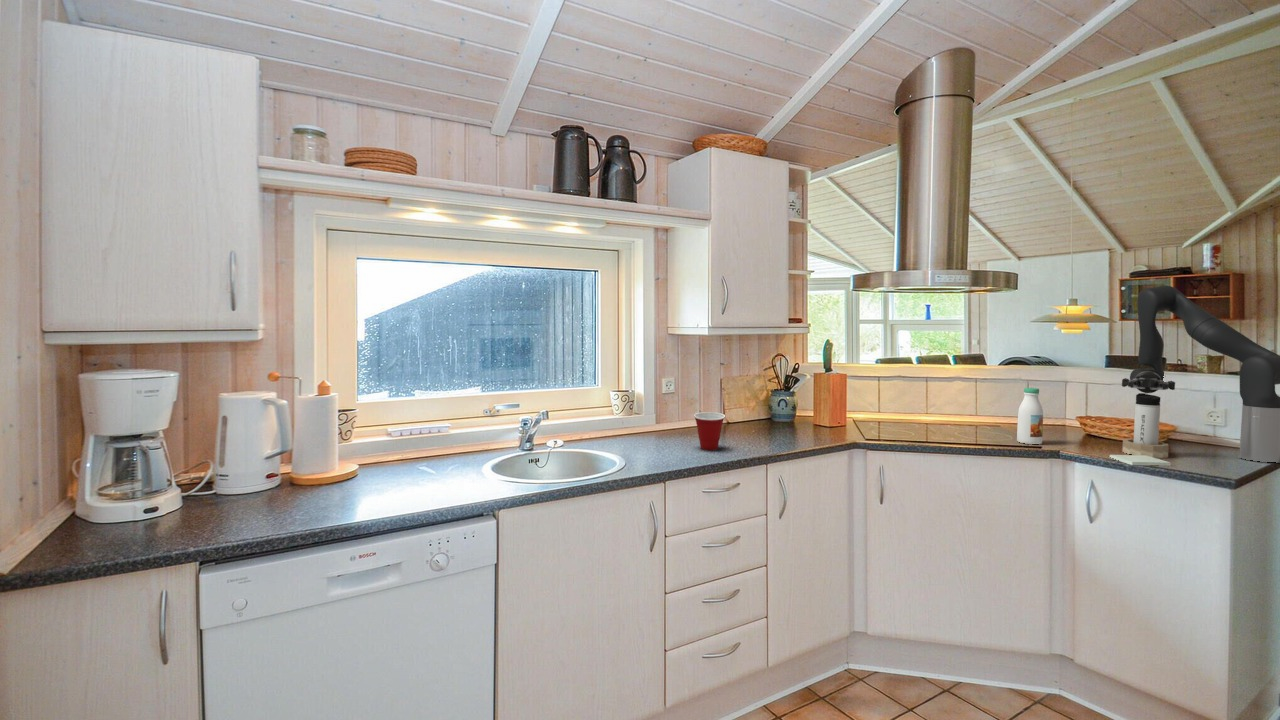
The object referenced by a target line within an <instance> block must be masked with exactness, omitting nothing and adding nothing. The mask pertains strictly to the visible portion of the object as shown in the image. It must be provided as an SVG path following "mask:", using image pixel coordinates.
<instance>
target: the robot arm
mask: <svg viewBox="0 0 1280 720" xmlns="http://www.w3.org/2000/svg"><path fill="white" fill-rule="evenodd" d="M1136 307H1137V316H1138V317H1137V318H1138V327H1139V328H1138V329H1139V348H1138V354H1137V355H1138V357H1137V358H1138V359H1137V361H1138V363H1139V364H1141V365H1144V366H1147V367H1151V368H1152V369H1150V368H1135V369H1133V370H1132V371H1131V372H1130V374H1129V378H1127V377H1125V378H1122V379H1121V387H1123V388H1125V387H1128V388H1131V389H1137V390H1138V391H1140V392H1141V393H1145V394H1153V393H1155V392H1158V391H1159V390H1160V391H1163V390H1164V391H1166V390H1172V391H1173V390H1174V391H1175V390H1176V389H1175V387H1176V382H1175V381H1173V380H1168V381H1166V382H1164V381H1163V378H1164V377H1163V376H1164V373H1165V370H1164V367H1163V355H1164V347H1165V346H1164V340H1163V337H1162V334H1160V331H1159V330H1158V326H1157V325H1156V324H1157V323H1156V317H1157V313H1159V312H1164V311H1167V312H1170V313H1172V314H1174V315H1175V316H1177V317H1178V318H1179V319H1180V320H1182V323H1183V325H1184V329H1185V332H1186V334H1187V335H1188V336H1189V337H1190V338H1192V339H1193V340H1194V341H1196V342H1197V343H1198V344H1200V345H1202V346H1204V347H1205V348H1207V349H1209V350H1211V351H1213V352H1216V353H1218V354H1222V355H1224V356H1227V357H1230V358H1232V359H1234V360H1237V361H1239V362H1240V363H1241V365H1240V369H1239V396H1240V398H1241V400H1242V405H1241V406H1242V408H1241V424H1240V436H1239V437H1240V438H1239V440H1240V441H1239V456H1238V458H1239V459H1241V458H1242V460H1245V459H1246V460H1247V461H1250V460H1253V461H1252V462H1257V461H1260V462H1259V463H1267V462H1276V463H1275V464H1277V463H1280V396H1279V395H1278V394H1277V393H1276V385H1280V354H1277V353H1276V352H1274V351H1272V350H1270V349H1268V348H1265V347H1264V346H1261V345H1260V344H1258V343H1257V342H1255V341H1254V340H1251V339H1250V338H1249V337H1247V336H1245V335H1244V334H1243V333H1241V332H1240V331H1238V330H1236V329H1235V328H1234V327H1232V326H1230V324H1227V323H1226V322H1224V321H1223V320H1221V319H1219V318H1218V317H1216V316H1214V314H1211V313H1210V312H1208V311H1206V310H1205V309H1204V308H1202V307H1201V306H1199V305H1197V304H1196V303H1195V302H1193V301H1192V299H1191V300H1190V298H1188V297H1187V296H1186V295H1184V293H1182V292H1181V291H1180V290H1178V288H1176V287H1173V286H1171V285H1160V286H1159V285H1158V286H1155V287H1148V288H1145V289H1142V290H1141V291H1140V292H1139V293H1138V296H1137V299H1136ZM1246 460H1245V461H1246Z"/></svg>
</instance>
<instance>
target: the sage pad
mask: <svg viewBox="0 0 1280 720" xmlns="http://www.w3.org/2000/svg"><path fill="white" fill-rule="evenodd" d="M1110 457H1111V458H1110ZM1109 458H1110V459H1112V458H1114V459H1113V460H1115V459H1116V460H1115V461H1118V460H1119V461H1118V462H1121V463H1124V464H1128V465H1131V466H1150V465H1159V466H1160V467H1166V466H1167V467H1171V466H1172V465H1171V464H1172V463H1171V462H1170V461H1166V460H1164V459H1163V460H1162V459H1161V458H1153V457H1150V456H1146V455H1129V454H1109Z"/></svg>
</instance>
